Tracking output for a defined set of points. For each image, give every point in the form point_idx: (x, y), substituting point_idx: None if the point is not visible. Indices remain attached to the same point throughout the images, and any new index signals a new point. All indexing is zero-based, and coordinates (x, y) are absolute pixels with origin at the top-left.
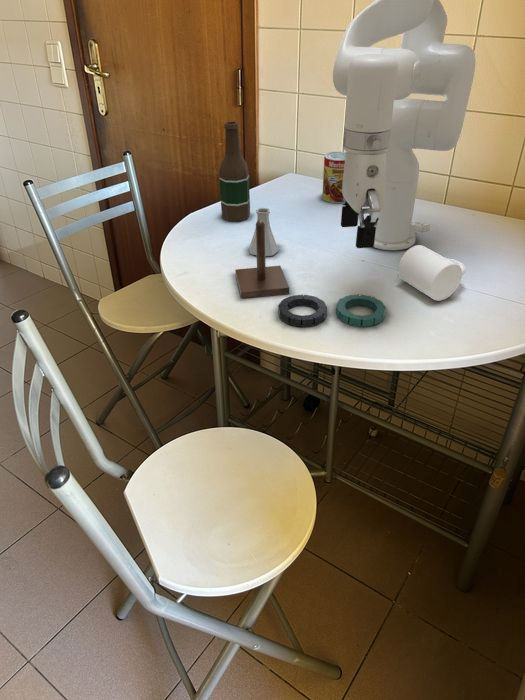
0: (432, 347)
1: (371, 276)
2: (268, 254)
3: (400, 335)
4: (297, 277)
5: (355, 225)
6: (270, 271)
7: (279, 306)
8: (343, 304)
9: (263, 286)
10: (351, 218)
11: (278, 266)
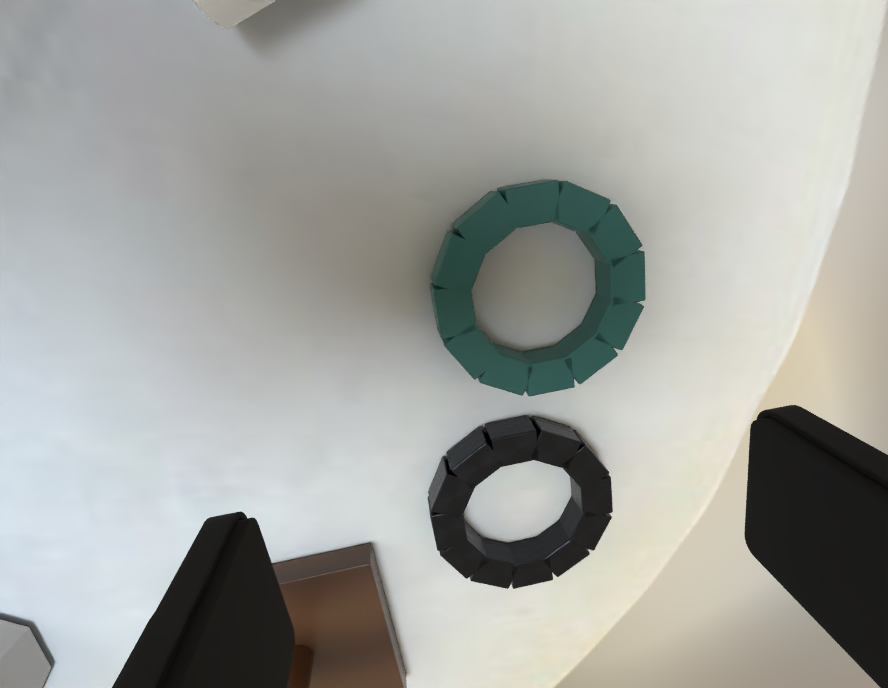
0: (814, 15)
1: (168, 181)
2: (31, 647)
3: (707, 141)
4: None
5: (254, 532)
6: None
7: (516, 585)
8: (519, 367)
9: (364, 644)
10: (249, 651)
11: None
